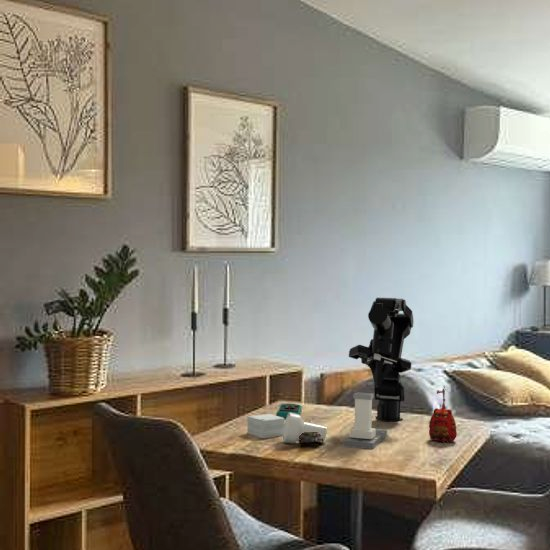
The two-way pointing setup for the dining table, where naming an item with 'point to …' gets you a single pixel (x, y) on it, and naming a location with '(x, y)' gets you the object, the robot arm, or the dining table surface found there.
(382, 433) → the fader console
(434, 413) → the red clay folk toy
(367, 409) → the fader tab
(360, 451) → the dining table surface
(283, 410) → the digital multimeter
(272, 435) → the small box
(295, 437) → the spotlight
